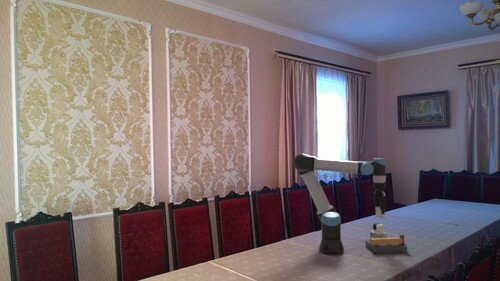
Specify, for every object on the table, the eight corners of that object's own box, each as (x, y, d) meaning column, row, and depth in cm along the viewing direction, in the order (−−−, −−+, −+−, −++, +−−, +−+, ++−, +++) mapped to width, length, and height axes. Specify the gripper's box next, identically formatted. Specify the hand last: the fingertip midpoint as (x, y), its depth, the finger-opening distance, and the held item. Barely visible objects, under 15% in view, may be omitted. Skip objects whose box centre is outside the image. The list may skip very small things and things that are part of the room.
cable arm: (402, 242, 217) (402, 233, 217) (405, 244, 213) (405, 235, 213) (369, 243, 215) (369, 235, 215) (372, 245, 211) (372, 236, 211)
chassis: (375, 253, 209) (375, 246, 209) (365, 246, 224) (365, 240, 224) (408, 252, 210) (408, 245, 210) (396, 245, 225) (396, 238, 225)
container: (369, 242, 233) (369, 223, 233) (379, 241, 235) (378, 222, 236) (377, 245, 225) (377, 225, 226) (387, 244, 228) (386, 224, 228)
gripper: (392, 183, 213) (392, 221, 213) (378, 180, 232) (379, 214, 232) (380, 183, 213) (381, 221, 213) (367, 180, 231) (368, 215, 231)
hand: (380, 217), depth 222 cm, fingers open, 6 cm apart
